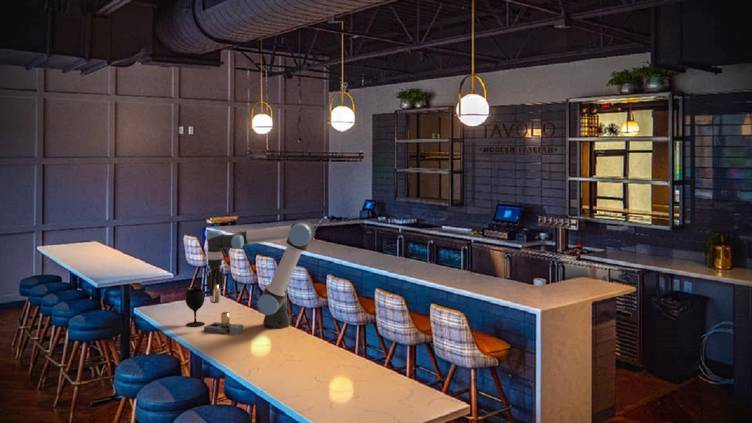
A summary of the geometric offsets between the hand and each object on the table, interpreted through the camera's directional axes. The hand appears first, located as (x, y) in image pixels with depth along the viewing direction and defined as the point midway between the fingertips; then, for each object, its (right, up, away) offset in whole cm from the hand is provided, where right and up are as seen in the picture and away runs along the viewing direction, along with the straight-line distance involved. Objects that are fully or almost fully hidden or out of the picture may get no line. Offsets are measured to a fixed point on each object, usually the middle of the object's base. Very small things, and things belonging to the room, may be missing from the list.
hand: (215, 300), depth 352 cm
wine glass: (-14, -16, +10) cm, 24 cm away
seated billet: (+6, -17, -1) cm, 18 cm away
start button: (+13, -15, -5) cm, 20 cm away
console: (+13, -17, -5) cm, 22 cm away
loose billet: (0, -1, 0) cm, 1 cm away
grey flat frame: (+3, -17, 0) cm, 17 cm away
